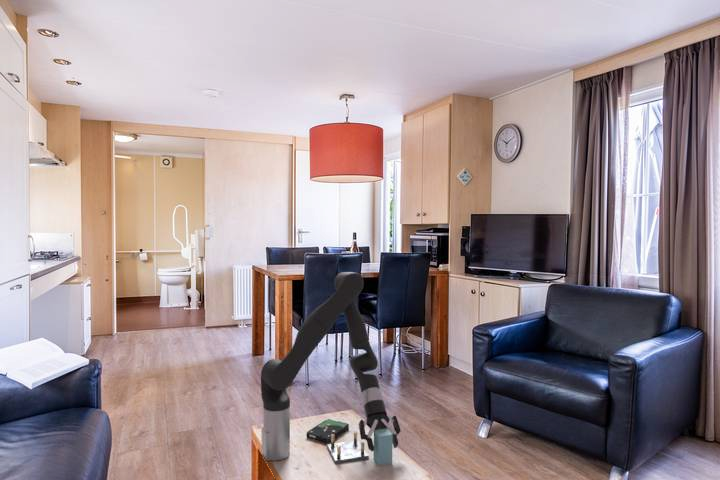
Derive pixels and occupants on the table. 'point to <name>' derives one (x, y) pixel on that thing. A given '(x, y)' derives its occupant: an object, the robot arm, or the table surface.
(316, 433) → the disk drive
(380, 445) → the teal block
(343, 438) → the table surface
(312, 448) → the table surface
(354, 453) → the chassis plate
